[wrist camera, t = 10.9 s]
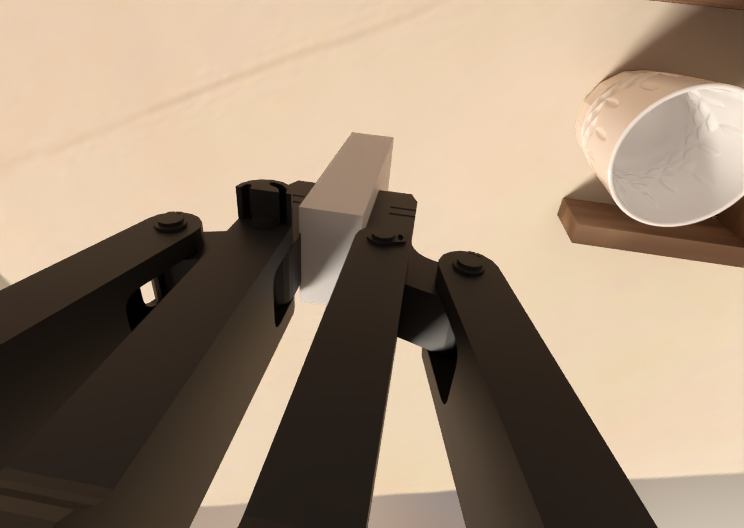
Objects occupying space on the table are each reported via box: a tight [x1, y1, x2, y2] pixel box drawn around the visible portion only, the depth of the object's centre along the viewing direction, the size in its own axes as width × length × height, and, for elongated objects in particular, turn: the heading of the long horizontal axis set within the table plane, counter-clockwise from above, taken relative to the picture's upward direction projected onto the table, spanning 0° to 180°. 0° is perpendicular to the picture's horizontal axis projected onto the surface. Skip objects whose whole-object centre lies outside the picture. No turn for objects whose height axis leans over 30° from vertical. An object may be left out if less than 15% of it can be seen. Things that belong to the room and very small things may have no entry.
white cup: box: [575, 70, 744, 227], centre depth 28 cm, size 8×8×10 cm
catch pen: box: [557, 0, 744, 268], centre depth 29 cm, size 17×14×5 cm
